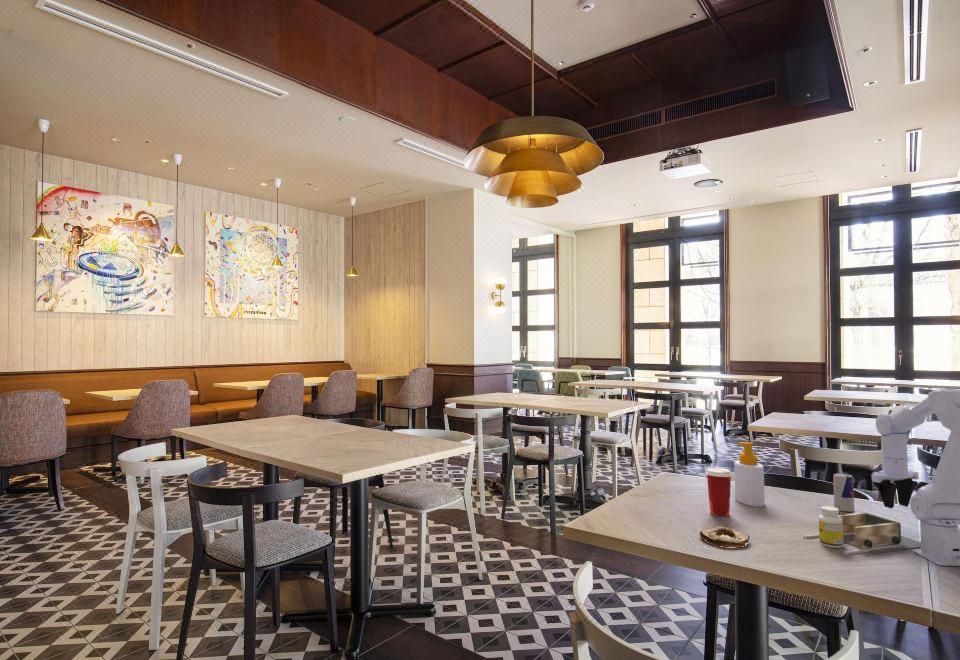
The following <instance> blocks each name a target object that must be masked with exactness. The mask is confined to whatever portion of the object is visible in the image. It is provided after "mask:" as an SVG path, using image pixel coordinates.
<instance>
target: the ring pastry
mask: <svg viewBox="0 0 960 660" xmlns="http://www.w3.org/2000/svg"><path fill="white" fill-rule="evenodd" d="M699 536H700V537H701V538H702V539H704V540H706V541H707V542H709V543H712V544H714V545H713V546H715V545H717V546H723V547H742V546H745V543H747V542H749V540H750V538H751V536H750V535H749V534H747V533H746V532H744V531H743V530H742V531H741V530H738V529H735V528H730V527H728V526H713V527H707V528H703V529H701V531H700V532H699ZM701 538H700V539H701ZM702 539H701V540H702ZM704 540H703V541H704ZM709 543H708V544H709ZM712 544H711V545H712ZM717 546H716V547H717ZM742 548H743V547H742Z"/></svg>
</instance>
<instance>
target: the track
mask: <svg viewBox="0 0 960 660" xmlns="http://www.w3.org/2000/svg"><path fill="white" fill-rule="evenodd" d="M814 538H820V537H819V533H815V534H803V539H814ZM843 543H844V544H848V545H849V546H853V547H855V543H854V533H846V534H843ZM857 548H858V549H851V550H843V551H842V552H843V554H844V555H846V556H847V555H857V554H863V553H872V554H875V555H876V554H883V553H892V552H898V551H899V550H900V551H906V550H905V549H908V550H915V549H914V548H916V549H921V541H919V540H915V539H913V538H910V537H906V536H903V535H901V542H900V543H899V544H896V543H888V544H880V545H872V547H867V546H864V547H857Z"/></svg>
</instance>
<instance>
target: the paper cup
mask: <svg viewBox="0 0 960 660" xmlns="http://www.w3.org/2000/svg"><path fill="white" fill-rule="evenodd" d="M705 475H706V477H707V478H706V479H707V492H708V493H707V494H708V501H709V502H708V503H709V504H708V505H709V511H710V512H709V513H710V515H712V514H713V515H712V516H715V515H717V516H716V517H721V516H726V517H729V516H730V510H731V509H730V508H731V507H730V506H731V480H732V479H731V478H732V473H731V470H730V469H727V468H723V467H722V468H721V467H710V468H708V469H707V470H706V471H705Z"/></svg>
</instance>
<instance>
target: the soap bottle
mask: <svg viewBox="0 0 960 660" xmlns="http://www.w3.org/2000/svg"><path fill="white" fill-rule="evenodd" d="M736 445H737V446H740V447H741V446H743V452H742V453H741V454H740V455H739V456H738V457H739V458H738V459H737V460H735V461H733V465H734V469H733V471H734V498H735V500H736V501H737V502H738V503H740V504H742V503H743V505H745V506H748V505H749V506H748V507H753V506H754V507H755V508H759V507H764V506H765V504H766V503H765V501H766V500H765V472H764V471H765V468H764V465H763V464H761V463H759V462H758V459H759V458H758V456H757V455H756V454H754V453H753V442H750V441H749V442H748V441H744V442H742V441H741V442H740V441H739V442H737V443H736Z"/></svg>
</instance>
